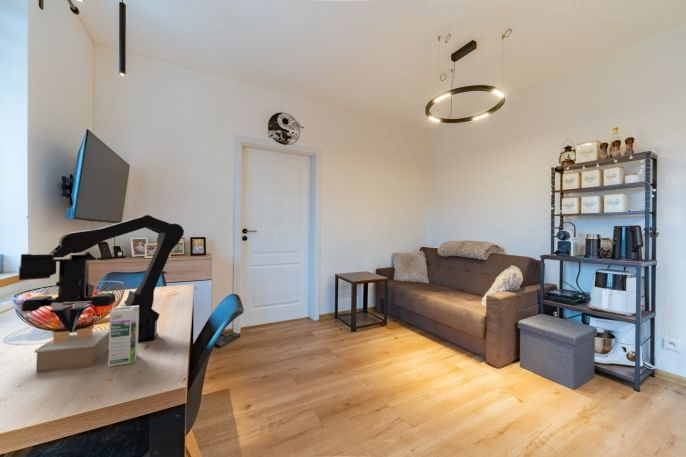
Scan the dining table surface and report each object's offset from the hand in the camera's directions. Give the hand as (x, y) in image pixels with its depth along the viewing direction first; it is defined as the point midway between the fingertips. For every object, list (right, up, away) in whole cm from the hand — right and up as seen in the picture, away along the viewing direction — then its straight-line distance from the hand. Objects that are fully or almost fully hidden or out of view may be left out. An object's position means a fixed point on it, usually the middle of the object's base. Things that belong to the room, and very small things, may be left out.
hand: (70, 332), depth 81 cm
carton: (+4, -7, -3) cm, 8 cm away
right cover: (+3, -2, 0) cm, 4 cm away
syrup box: (+17, -7, -3) cm, 19 cm away
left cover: (+6, -2, -6) cm, 8 cm away
